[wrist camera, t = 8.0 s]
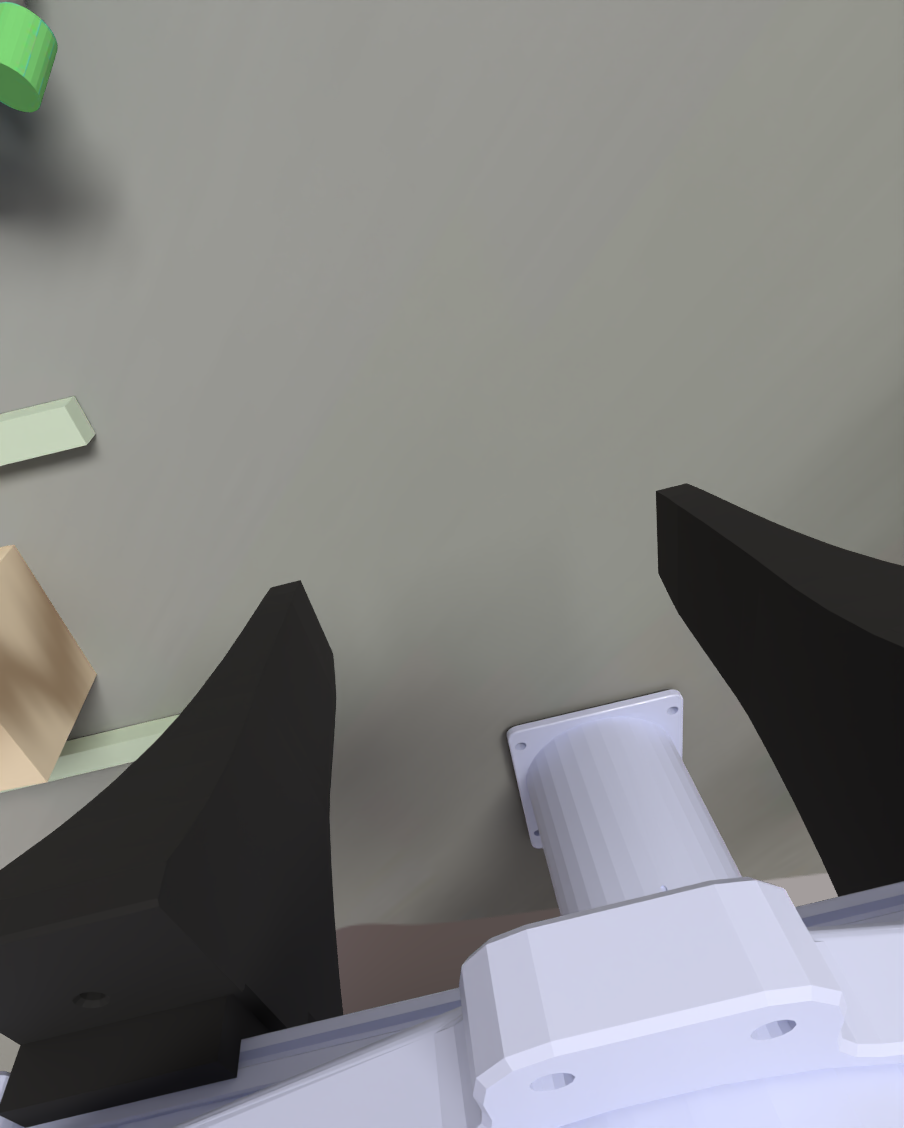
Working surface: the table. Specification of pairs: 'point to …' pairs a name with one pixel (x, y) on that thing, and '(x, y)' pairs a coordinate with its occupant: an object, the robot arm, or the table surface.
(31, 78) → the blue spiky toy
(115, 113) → the table surface
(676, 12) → the table surface
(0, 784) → the block
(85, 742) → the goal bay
